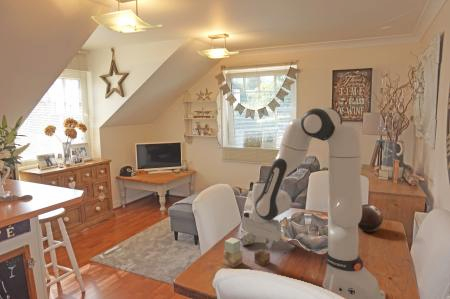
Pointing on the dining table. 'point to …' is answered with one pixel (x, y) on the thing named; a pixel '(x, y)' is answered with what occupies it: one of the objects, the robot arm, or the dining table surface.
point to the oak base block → (233, 258)
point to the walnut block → (262, 257)
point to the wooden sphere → (370, 218)
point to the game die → (245, 238)
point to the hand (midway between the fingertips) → (260, 244)
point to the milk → (247, 207)
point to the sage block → (232, 245)
